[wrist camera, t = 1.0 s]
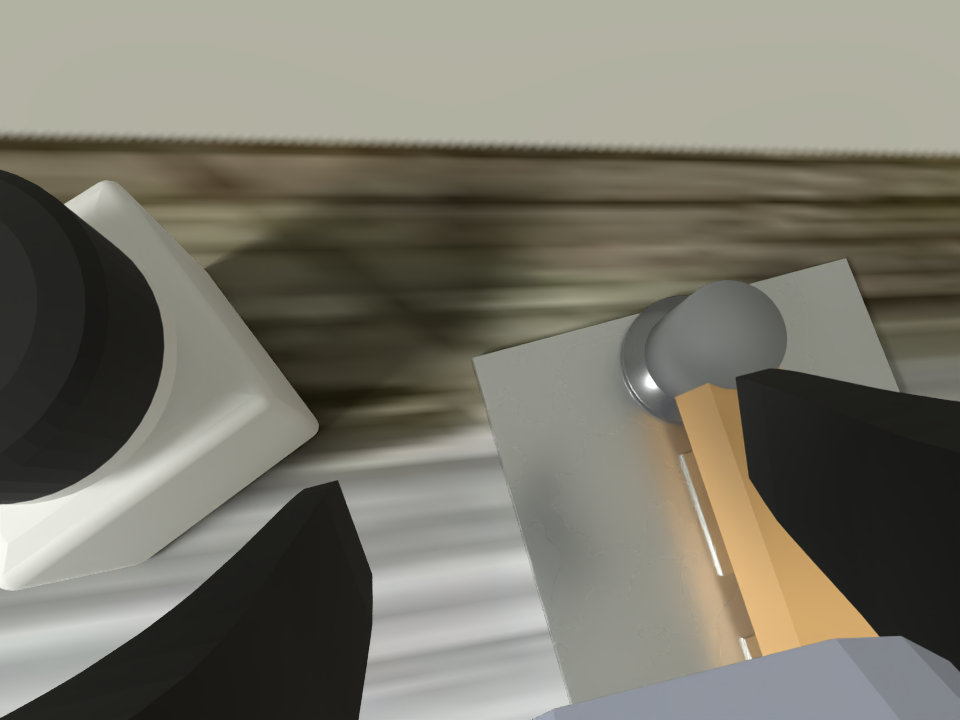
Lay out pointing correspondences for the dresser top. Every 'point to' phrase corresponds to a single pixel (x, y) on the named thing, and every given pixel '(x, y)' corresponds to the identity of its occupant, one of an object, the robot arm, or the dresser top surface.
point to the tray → (642, 485)
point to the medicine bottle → (120, 387)
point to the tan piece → (743, 460)
